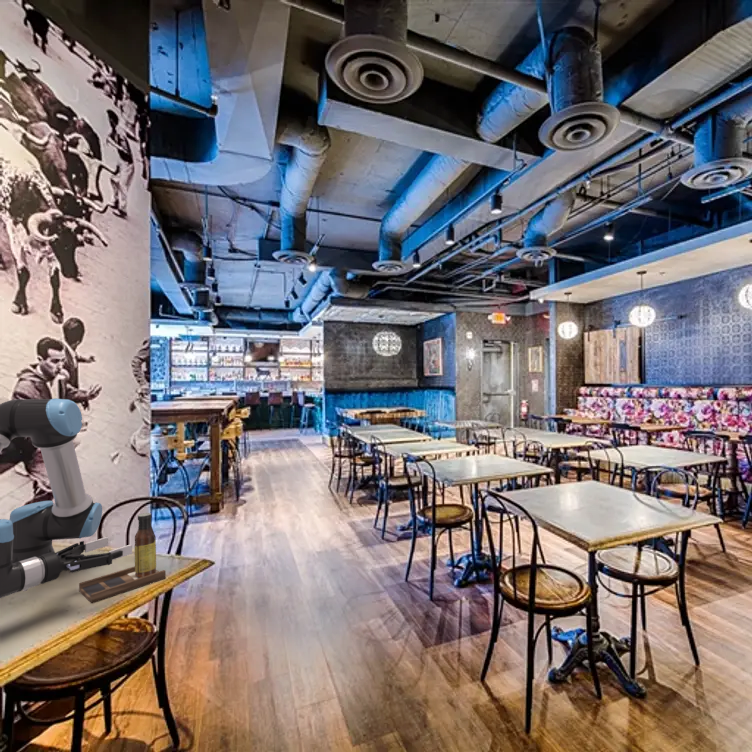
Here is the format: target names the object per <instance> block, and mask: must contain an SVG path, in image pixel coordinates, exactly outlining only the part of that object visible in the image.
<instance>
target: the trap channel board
mask: <svg viewBox="0 0 752 752" xmlns="http://www.w3.org/2000/svg"><path fill="white" fill-rule="evenodd" d="M135 573H136V572H135V565H134V566H132V567H128V568H125V569H122V570H119V571H115V572H112V573H108V574H104V575H102V576H98V577H94V578H91V579H87V580H85V581H81V582H80V583H78V586H79V587H78V592H79V593H80V594H81V595H82V596H83V597H85V599H86V600H87V601H88V602H90V604H95V603H97V602H101V601H103V600H106V599H109V598H113V597H115V596H118V595H122V594H124V593H127V592H130V591H134V590H136V589H139V588H141V587H145V586H147V585H150V583H151V584H154V583H156V582H160V581H162V580H164V579H166V569H165V570H160V571H159V570H158V569H156V572H155V573H154V574H151V575H148V576H144V577H141V578H139V577H137V576H136V575H135ZM153 582H154V583H153Z"/></svg>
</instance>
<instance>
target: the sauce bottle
mask: <svg viewBox="0 0 752 752" xmlns="http://www.w3.org/2000/svg"><path fill="white" fill-rule="evenodd" d="M137 520H138V529H137V531H136V534H135V535H134V566H135V572H136V573H135V575H136V576H137V577H139V578H141V577H144V576H148V575H151V574H154V573H155V572H156V570H157V543H156V540H157V539H156V534H155V531H154V528H153V527H152V513H151V512H145V513H140V514H138V515H137Z"/></svg>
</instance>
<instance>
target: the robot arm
mask: <svg viewBox="0 0 752 752" xmlns="http://www.w3.org/2000/svg"><path fill="white" fill-rule="evenodd" d="M82 420H83V416H82V411H81V410H80V407H79V406H78V404H77V403H76V402H75V401H73V400H71V399H67V398H65V399H64V398H50V399H49V398H47V399H46V398H45V399H44V398H41V399H40V398H38V399H36V398H35V399H33V398H32V399H31V398H30V399H23V398H20V399H19V398H18V399H10V400H7V401H5V402H2V403H0V454H1V453H2V451H3V449H6V448H8V447H9V446H10V444H11V442H12V440H13V439H15V438H30V442H31V444H32V446H34V448H38V449H40V452H41V456H42V460H43V464H44V467H45V472H46V474H47V478H48V481H49V486H50V488H51V492H52V493H51V494H52V496H53V499H54V501H52V500H43V501H38V502H37V501H36V502H33V503H29V504H25V505H22V506H19V507H16V508H14V509H13V510H11V512H10V513H9V519H5V518H1V519H0V599H2V598H5V597H7V596H10V595H14V594H17V593H19V592H22V591H23V592H27V591H28V590H29V589H31V588H34V587H37V586H39V585H40V584H42V585H43V584H46V583H49V582H53V581H54V580H57V579H58V578H60V575H61V573H62V572H63V571H69V573H71V574H73V573H77V572H79V571H84V570H90V569H93V568H99V567H104V566H110V565H112V564H113V561H114V560H117V559H120V558H123V557H125V556H126V557H127V556H129V555H132V554H133V544H128V545H124V546H121V547H118V548H115V549H112V550H109V551H108V552H103V553H97V554H87V555H86V554H83V553H89V552H93V551H96V550H98V549H102V548H105V547H108V546H109V537H108V536H106V537H102V538H99V539H95V540H92V541H88V542H85V541H84V540H82V541H79V543H78V542H77V543H73V544H72V545H68V546H66V547H65V548H63V549H61V550H59V551H55V549H54V546H53V541H57V540H59V541H60V540H74V539H83V538H89V537H90V538H91V537H92V536H93V535H95V534H96V532H97V531H98V529H99V526H100V523H101V520H102V515H103V505H102V504H101V502H94V501H93V498H92V496H91V495H90V494H89V493H86V490H85V486H84V482H83V477H82V472H81V470H80V465H79V464H80V463H79V461H78V456H77V453H76V447H75V443H74V440H75V439H77V436H78V433H80V431H81V429H82V427H83V422H82Z"/></svg>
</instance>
